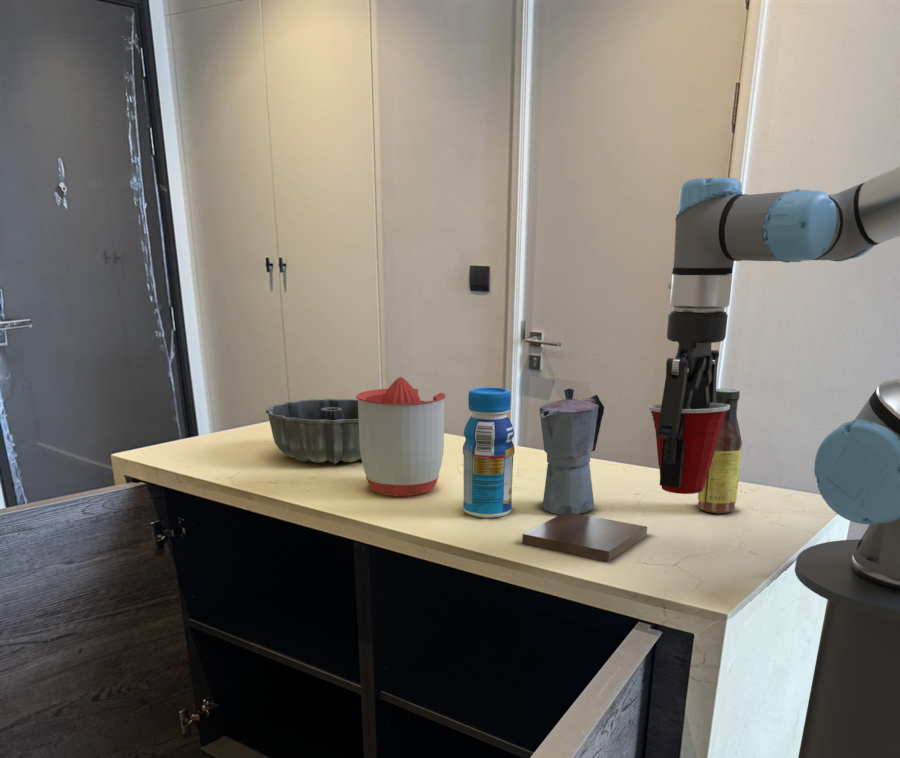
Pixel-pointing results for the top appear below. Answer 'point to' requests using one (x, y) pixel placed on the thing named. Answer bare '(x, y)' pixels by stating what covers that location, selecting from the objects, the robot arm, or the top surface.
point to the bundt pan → (317, 429)
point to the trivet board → (585, 535)
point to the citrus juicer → (401, 439)
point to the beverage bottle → (488, 453)
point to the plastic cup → (694, 444)
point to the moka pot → (570, 452)
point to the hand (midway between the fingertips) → (682, 478)
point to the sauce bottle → (724, 460)
